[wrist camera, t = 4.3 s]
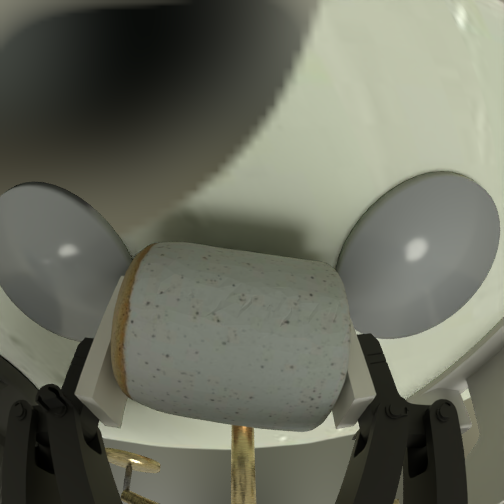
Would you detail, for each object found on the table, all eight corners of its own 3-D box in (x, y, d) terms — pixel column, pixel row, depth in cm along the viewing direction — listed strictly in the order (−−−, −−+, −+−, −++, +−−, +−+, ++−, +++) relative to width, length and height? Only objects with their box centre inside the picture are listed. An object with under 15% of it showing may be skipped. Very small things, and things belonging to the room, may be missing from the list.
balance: (127, 399, 25) (105, 542, 11) (109, 373, 22) (75, 539, 9) (360, 396, 25) (389, 541, 12) (376, 370, 22) (417, 539, 9)
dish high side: (320, 337, 19) (322, 346, 18) (353, 160, 12) (359, 166, 12) (455, 320, 19) (459, 327, 18) (512, 184, 12) (520, 189, 12)
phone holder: (435, 406, 31) (465, 511, 16) (397, 403, 28) (429, 535, 13) (529, 325, 22) (583, 435, 7) (513, 304, 19) (585, 448, 4)
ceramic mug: (147, 204, 12) (77, 346, 6) (325, 229, 13) (382, 373, 7) (155, 347, 18) (136, 452, 12) (274, 360, 19) (283, 464, 13)
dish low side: (32, 326, 19) (28, 333, 18) (-29, 196, 12) (-36, 201, 11) (158, 339, 19) (156, 348, 18) (111, 167, 12) (104, 173, 11)
